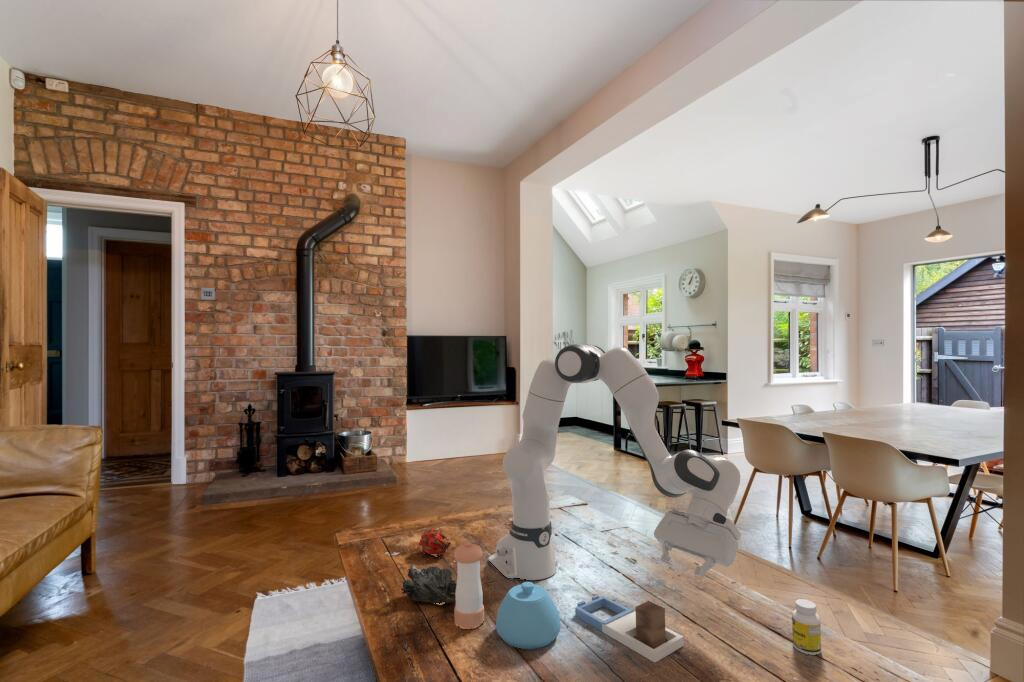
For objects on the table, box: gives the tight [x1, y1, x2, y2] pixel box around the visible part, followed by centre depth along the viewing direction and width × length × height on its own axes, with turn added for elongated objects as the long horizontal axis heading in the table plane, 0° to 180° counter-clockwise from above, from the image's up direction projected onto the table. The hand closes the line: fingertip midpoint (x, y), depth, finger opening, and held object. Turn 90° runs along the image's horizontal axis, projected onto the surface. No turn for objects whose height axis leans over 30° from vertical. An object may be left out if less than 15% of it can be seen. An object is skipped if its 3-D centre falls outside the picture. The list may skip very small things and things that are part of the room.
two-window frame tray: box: [574, 594, 685, 663], centre depth 121 cm, size 25×10×2 cm, turn 36°
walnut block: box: [635, 600, 667, 649], centre depth 115 cm, size 4×4×8 cm
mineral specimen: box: [401, 564, 457, 604], centre depth 138 cm, size 15×13×10 cm
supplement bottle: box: [791, 598, 822, 656], centre depth 113 cm, size 5×5×10 cm
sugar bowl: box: [495, 581, 562, 650], centre depth 120 cm, size 15×15×12 cm
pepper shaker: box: [453, 541, 485, 627], centre depth 126 cm, size 7×7×19 cm
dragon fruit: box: [418, 528, 451, 555], centre depth 167 cm, size 8×8×12 cm
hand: (680, 568), depth 122 cm, fingers open, 8 cm apart
